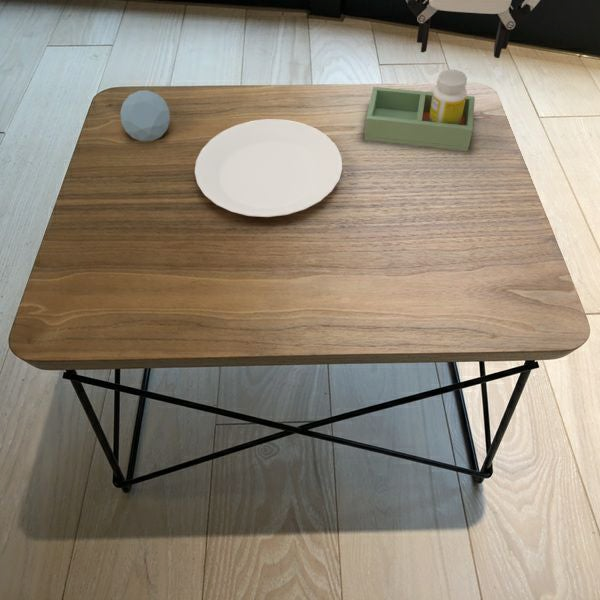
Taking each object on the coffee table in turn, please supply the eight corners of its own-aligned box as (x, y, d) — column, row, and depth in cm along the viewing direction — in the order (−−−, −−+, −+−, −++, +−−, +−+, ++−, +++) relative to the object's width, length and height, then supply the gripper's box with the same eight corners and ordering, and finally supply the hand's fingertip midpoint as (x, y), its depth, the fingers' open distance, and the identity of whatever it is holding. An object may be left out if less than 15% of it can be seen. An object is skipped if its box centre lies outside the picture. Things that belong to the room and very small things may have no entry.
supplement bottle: (464, 123, 93) (475, 74, 87) (450, 140, 91) (461, 90, 84) (436, 113, 95) (444, 64, 88) (421, 129, 93) (429, 80, 86)
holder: (371, 108, 98) (373, 86, 95) (469, 118, 96) (474, 96, 92) (364, 140, 93) (365, 118, 90) (467, 151, 91) (472, 129, 88)
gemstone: (130, 91, 97) (120, 85, 92) (178, 98, 97) (171, 93, 92) (125, 140, 98) (115, 137, 93) (172, 147, 98) (165, 144, 93)
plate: (352, 139, 93) (353, 127, 91) (326, 238, 81) (326, 226, 79) (222, 123, 96) (220, 111, 95) (177, 216, 84) (174, 204, 82)
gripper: (563, -102, 70) (525, 40, 84) (412, -108, 73) (398, 31, 86) (567, -76, 66) (526, 70, 79) (405, -83, 68) (392, 59, 82)
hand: (460, 49), depth 83 cm, fingers open, 9 cm apart
